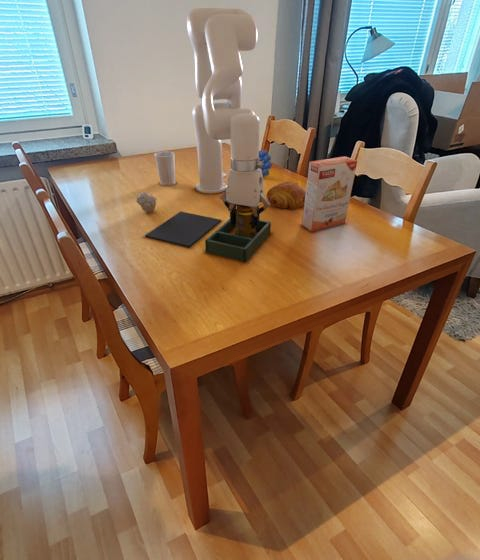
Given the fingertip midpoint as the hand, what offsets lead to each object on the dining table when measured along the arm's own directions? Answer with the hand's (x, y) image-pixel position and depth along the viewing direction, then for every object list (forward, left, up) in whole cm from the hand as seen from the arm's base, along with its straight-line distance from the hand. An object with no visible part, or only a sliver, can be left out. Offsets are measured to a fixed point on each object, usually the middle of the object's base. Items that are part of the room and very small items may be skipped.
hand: (244, 224), depth 106 cm
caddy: (+3, 0, -5) cm, 6 cm away
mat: (+2, -20, -5) cm, 21 cm away
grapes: (-56, -16, -5) cm, 59 cm away
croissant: (-33, +3, -5) cm, 34 cm away
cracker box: (-20, +20, -5) cm, 29 cm away
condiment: (0, -1, -5) cm, 5 cm away
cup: (-32, -50, -5) cm, 60 cm away
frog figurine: (-4, -39, -5) cm, 40 cm away
